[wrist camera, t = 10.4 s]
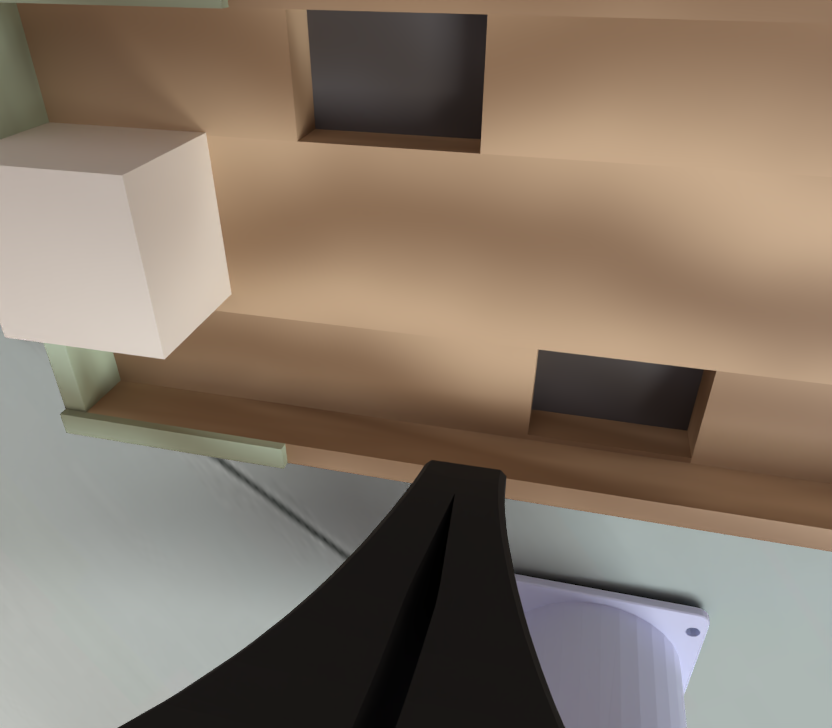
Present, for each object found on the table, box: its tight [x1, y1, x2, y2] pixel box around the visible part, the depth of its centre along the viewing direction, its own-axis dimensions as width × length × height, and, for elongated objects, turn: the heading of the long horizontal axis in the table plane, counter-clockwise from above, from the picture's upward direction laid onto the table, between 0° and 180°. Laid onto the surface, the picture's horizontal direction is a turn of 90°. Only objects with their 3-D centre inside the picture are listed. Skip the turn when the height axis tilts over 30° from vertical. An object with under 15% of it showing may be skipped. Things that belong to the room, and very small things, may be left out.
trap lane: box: [0, 0, 832, 552], centre depth 19 cm, size 14×29×4 cm, turn 90°
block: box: [0, 122, 231, 359], centre depth 19 cm, size 5×5×4 cm
